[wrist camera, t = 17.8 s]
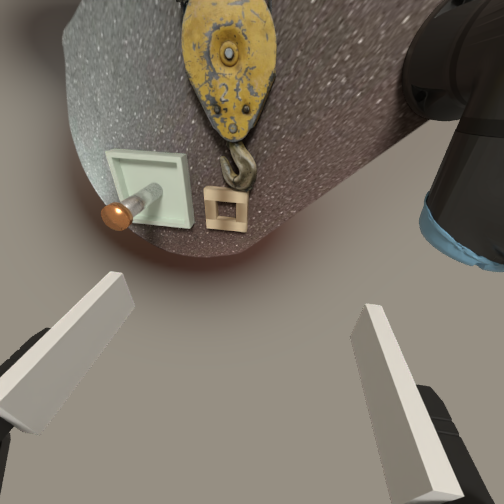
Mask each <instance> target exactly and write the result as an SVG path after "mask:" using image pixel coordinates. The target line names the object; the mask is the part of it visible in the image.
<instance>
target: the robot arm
mask: <svg viewBox="0 0 504 504" xmlns="http://www.w3.org/2000/svg"><path fill="white" fill-rule="evenodd" d="M402 87H403V93H404V97H405V99H406V102H407V104H408V105H409V107H410V108H411V109H412V110H413V111H414V112H415V113H416V114H418V115H419V116H421V117H424V118H427V119H431V120H437V121H452V120H459V119H460V121H459V124H458V126H457V128H456V130H455V132H454V134H453V137H452V139H451V142H450V144H449V146H448V149H447V151H446V153H445V156H444V158H443V161H442V163H441V165H440V168H439V170H438V172H437V175H436V177H435V179H434V182H433V184H432V187H431V189H430V191H428V193H427V194H426V197H425V200H424V207H423V210H422V212H421V215H420V218H419V225H420V230H421V233H422V234H423V236H424V237H425V239H426V240H427V241H428V242H429V243H430V244H431V245H432V246H433V247H435V248H436V249H437V250H439V251H440V252H442V253H443V254H445V255H447V256H449V257H451V258H452V259H454V260H457V261H459V262H461V263H464V264H467V265H469V266H473V265H477V266H479V267H480V268H481V269H483V270H487V271H493V272H504V0H444V1H443V2H442V3H440V4H439V5H438V6H437V7H436V8H435V10H434V11H433V12H432V13H431V14H430V15H429V16H428V18H427V19H426V20H425V22H424V23H423V24H422V26H421V27H420V29H419V30H418V32H417V34H416V35H415V37H414V39H413V41H412V43H411V45H410V48H409V50H408V53H407V56H406V59H405V63H404V67H403V74H402ZM134 308H135V304H134V301H133V299H132V296H131V294H130V291H129V288H128V286H127V283H126V280H125V278H124V275H123V273H118V272H109V273H108V274H107V275H106V276H105V277H104V278H103V279H102V280H101V281H100V282H99V283H98V284H97V285H96V286H95V287H94V288H93V289H92V290H90V291H89V292H88V293H87V294H86V295H85V296H84V297H83V298H82V299H81V300H80V301H79V302H78V303H77V304H76V305H75V306H74V307H73V308H72V309H71V310H70V311H69V312H68V313H67V314H66V315H64V316H63V317H62V318H61V319H60V320H59V321H58V322H57V323H56V324H55V325H54V326H53V327H52V328H45V329H43V330H42V331H40V332H39V333H37V334H35V335H34V336H32V337H31V338H30V339H29V340H28V341H27V342H26V343H25V344H24V345H22V346H21V347H20V349H19V350H17V351H16V352H15V353H14V354H13V355H12V356H11V357H10V359H7V360H6V361H5V362H4V363H3V364H2V365H1V366H0V493H1V488H2V482H3V477H4V472H5V466H6V461H7V455H8V450H9V444H10V440H11V439H10V433H9V432H10V430H11V429H12V428H13V427H16V428H17V429H19V430H20V431H22V432H25V433H30V434H35V435H41V433H42V432H43V431H44V429H45V428H46V427H47V425H48V424H49V423H50V421H51V420H52V419H53V417H54V416H55V415H56V413H57V412H58V411H59V409H60V408H61V407H62V405H63V404H64V403H65V401H66V400H67V398H68V397H69V396H70V394H71V393H72V392H73V390H74V389H75V388H76V386H77V385H78V384H79V382H80V381H81V379H82V378H83V377H84V375H85V374H86V373H87V371H88V370H89V369H90V367H91V366H92V365H93V363H94V362H95V361H96V359H97V358H98V357H99V355H100V354H101V352H102V351H103V350H104V349H105V347H106V346H107V344H108V343H109V342H110V340H111V339H112V338H113V336H114V335H115V334H116V332H117V331H118V330H119V328H120V327H121V326H122V324H123V323H124V321H125V320H126V319H127V317H128V316H129V315H130V313H131V312H132V311H133V309H134ZM350 339H351V343H352V347H353V351H354V355H355V359H356V362H357V367H358V371H359V375H360V379H361V383H362V387H363V391H364V395H365V399H366V403H367V407H368V411H369V415H370V419H371V423H372V427H373V431H374V435H375V439H376V443H377V447H378V451H379V455H380V459H381V464H382V467H383V472H384V475H385V480H386V484H387V488H388V492H389V496H390V500H391V503H392V504H495V503H494V501H493V500H492V498H491V496H490V494H489V492H488V490H487V489H486V486H485V484H484V482H483V481H482V479H481V476H480V475H479V472H478V470H477V468H476V467H475V465H474V462H473V460H472V459H471V457H470V455H469V452H468V450H467V449H466V447H465V445H464V443H463V441H462V439H461V437H459V433H458V431H457V429H456V427H455V425H454V423H453V422H452V419H451V417H450V415H449V413H448V411H447V409H446V407H445V405H444V403H443V401H442V400H441V399H440V398H439V396H438V395H437V394H436V393H435V392H434V391H433V389H432V388H431V387H429V386H423V385H416V384H415V382H414V380H413V377H412V375H411V373H410V371H409V368H408V366H407V364H406V361H405V359H404V357H403V354H402V352H401V350H400V348H399V345H398V343H397V341H396V338H395V336H394V334H393V332H392V329H391V327H390V324H389V322H388V320H387V318H386V315H385V313H384V311H383V309H382V306H381V305H373V304H365V305H364V308H363V310H362V312H361V314H360V316H359V318H358V321H357V323H356V325H355V327H354V329H353V331H352V334H351V336H350Z"/></svg>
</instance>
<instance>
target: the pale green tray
mask: <svg viewBox="0 0 504 504" xmlns="http://www.w3.org/2000/svg"><path fill="white" fill-rule="evenodd" d="M105 154H106V157H107V160H108V163H109V167H110V170H111V173H112V176H113V180H114V183H115V186H116V189H117V193H118V196H119V199H120V202H121V201H123V200H125V199H126V198H128V197H129V196H131V195H133V194H134V193H136V192H137V191H139V190H141V189H142V188H144V187H145V186H147V185H149V184H150V183H157V184H159V185H160V186H161V187H162V189H163V194H162V196H161V197H159V198H158V199H157V200H156V201H154V202H153V203H152V204H150V205H149V206H148V207H147V208H145V209H144V210H143V211H141V212H140V213H139V214H137V215H136V216H135V217H134V218H133V222H132V223H140V224H150V225H159V226H169V227H178V228H188V229H190V228H191V227H192V226H193V224H194V223H195V221H194V212H193V204H192V195H191V186H190V177H189V169H188V160H187V154H181V153H168V152H155V151H142V150H129V149H116V148H115V149H111V150H108V151H105Z"/></svg>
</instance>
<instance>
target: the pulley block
mask: <svg viewBox="0 0 504 504" xmlns="http://www.w3.org/2000/svg"><path fill="white" fill-rule="evenodd" d="M176 2H180V3H181V9H182V14H183V22H182V37H181V44H182V54H183V60H184V64H185V69H186V73H187V76H188V80H189V82H190V83H191V85H192V87H193V89H194V91H195V93H196V95H197V97H198V99H199V101H200V103H201V105H202V107H203V109H204V111H205V113H206V115H207V117H208V119H209V121H210V123H211V124H212V126H213V128H214V129H215V130H217V132H218V133H219V134H220V136H221V137H222V138H223V139H225V140H227V143H226V146H227V147H228V148H229V149H230V151H231V155H232V158H233V160H234V162H235V164H236V165H237V167H238V169H239V172H240V174H239V176H238V175H236V174H235V173H234V171H233V170H232V167H231V165H230V163H229V161H228V159H227V158H226V157H225V156H221V158H220V162H221V168H222V173H223V177H224V179H225V181H226V182H227V184H228V185H229V186H231V187H232V188H234V190H235V189H236V190H238V191H239V190H242V191H246V192H247V191H248V190H251V189H253V188H252V186H253V184H254V182H255V180H256V176H257V168H256V164H255V161H254V159H253V158H252V156H251V155H250V153H249V152H248V151H247V150H246V148H245V146H244V144H243V142H242V139H243V138H244V137H245V136H246V135H247V133H248V132H249V130H250V129H252V128H253V127H254V126H255V125H256V124H257V121H258V119H259V117H260V114H261V112H262V109H263V107H264V105H265V102H266V99H267V97H268V94H269V92H270V89H271V87H272V84H273V82H274V79H275V77H276V72H275V66H276V52H277V43H276V34H275V29H274V24H273V20H272V0H269V9H268V7H267V5H266V3H265V1H264V0H176ZM186 3H187V4H186Z"/></svg>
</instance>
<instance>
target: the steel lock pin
mask: <svg viewBox="0 0 504 504" xmlns="http://www.w3.org/2000/svg"><path fill="white" fill-rule="evenodd" d="M162 194H163V189H162V187H161V186H160V185H159V184H157V183H150V184H149V185H147V186H145V187H144V188H142V189H141V190H139V191H137V192H136V193H134V194H133V195H131V196H129V197H128V198H126V199H125V200H123V201H121V202H120V203H117V202H113V203H111V204H109V205H107V206H106V207H104V208H103V209H102V210H101V217H102V219H103V221H104V222H105V224H106V225H107V226H109V227H110V228H112V229H114V230H117V231H122V230H124V229H126V228H127V227H128V226H130V225H131V224H132V222H133V218H134V217H135V216H136V215H137V214H139V213H140V212H141V211H143V210H144V209H145V208H147V207H148V206H149V205H150V204H152V203H153V202H154V201H156V200H157V199H158V198H159V197H161V196H162Z"/></svg>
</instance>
